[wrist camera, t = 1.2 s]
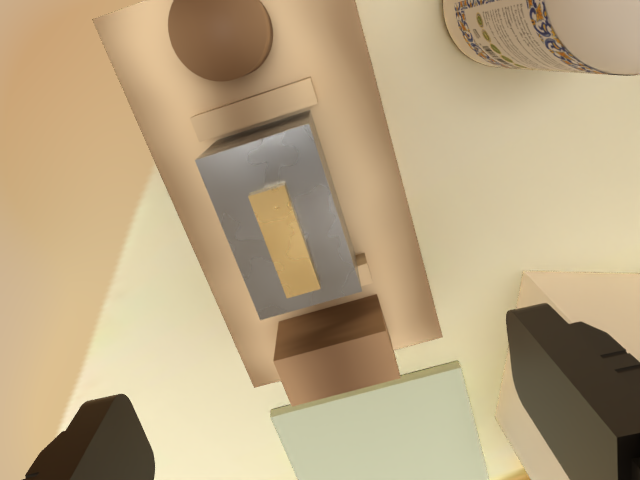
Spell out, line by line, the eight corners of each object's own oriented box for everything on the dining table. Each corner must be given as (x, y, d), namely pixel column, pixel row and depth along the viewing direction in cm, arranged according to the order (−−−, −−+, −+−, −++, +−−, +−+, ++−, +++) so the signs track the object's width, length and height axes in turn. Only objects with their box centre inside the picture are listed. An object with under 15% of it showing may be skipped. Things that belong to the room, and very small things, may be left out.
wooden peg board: (333, -52, 26) (341, -94, 18) (428, 304, 33) (461, 378, 26) (123, 23, 27) (49, 13, 19) (260, 351, 34) (245, 434, 27)
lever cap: (310, 109, 25) (308, 125, 19) (354, 250, 27) (363, 297, 22) (217, 140, 25) (191, 163, 20) (269, 275, 28) (259, 326, 23)
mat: (458, 360, 35) (461, 367, 34) (488, 482, 39) (492, 491, 38) (271, 409, 36) (270, 417, 36) (320, 522, 40) (320, 531, 40)
